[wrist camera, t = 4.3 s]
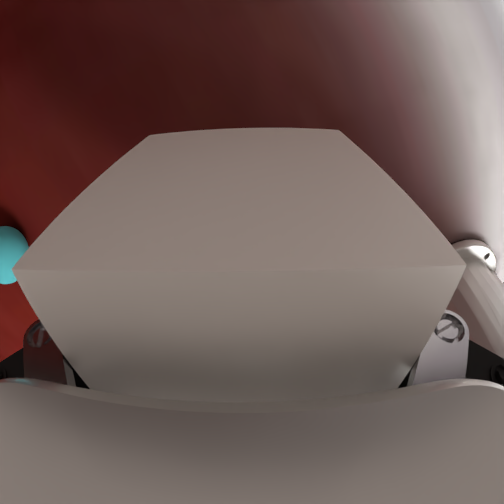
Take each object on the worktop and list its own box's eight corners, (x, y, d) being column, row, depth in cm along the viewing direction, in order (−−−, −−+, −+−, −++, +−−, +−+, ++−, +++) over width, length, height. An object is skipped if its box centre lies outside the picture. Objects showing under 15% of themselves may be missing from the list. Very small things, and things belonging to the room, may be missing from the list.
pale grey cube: (338, 130, 11) (466, 264, 4) (321, 278, 15) (356, 440, 8) (149, 135, 11) (11, 268, 4) (175, 279, 16) (135, 438, 8)
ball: (26, 211, 20) (-6, 247, 16) (46, 258, 23) (22, 296, 19) (-7, 218, 20) (-36, 251, 16) (13, 260, 23) (-11, 295, 19)
